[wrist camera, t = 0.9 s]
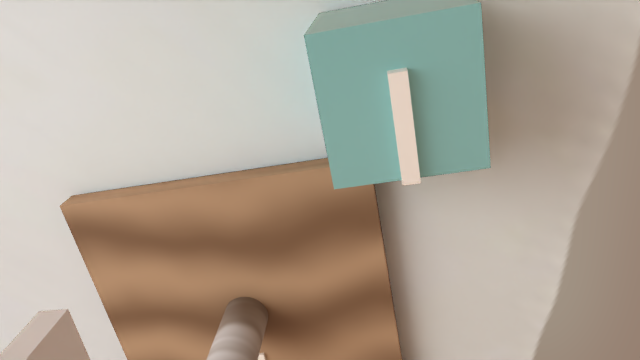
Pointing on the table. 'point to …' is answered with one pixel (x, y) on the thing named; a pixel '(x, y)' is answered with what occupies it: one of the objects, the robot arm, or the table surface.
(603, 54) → the table surface
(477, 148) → the teal rectangular block
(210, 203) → the wooden peg board
